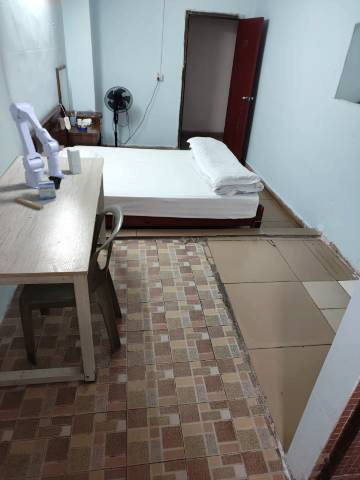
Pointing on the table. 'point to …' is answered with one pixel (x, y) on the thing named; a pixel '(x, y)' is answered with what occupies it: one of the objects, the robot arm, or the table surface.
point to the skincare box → (74, 160)
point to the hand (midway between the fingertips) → (57, 189)
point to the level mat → (35, 202)
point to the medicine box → (46, 189)
